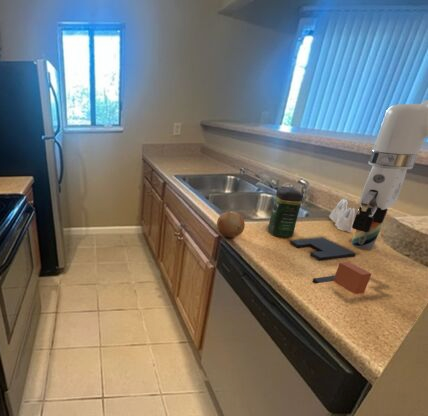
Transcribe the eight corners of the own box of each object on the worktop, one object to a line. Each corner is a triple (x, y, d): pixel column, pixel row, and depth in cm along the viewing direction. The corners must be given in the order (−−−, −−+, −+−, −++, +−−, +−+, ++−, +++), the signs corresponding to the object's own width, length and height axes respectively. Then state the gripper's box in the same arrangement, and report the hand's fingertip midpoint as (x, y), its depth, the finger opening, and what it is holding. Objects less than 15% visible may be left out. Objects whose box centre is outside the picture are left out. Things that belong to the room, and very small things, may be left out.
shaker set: (326, 220, 120) (334, 196, 116) (338, 221, 119) (346, 196, 115) (339, 231, 109) (348, 205, 105) (352, 232, 108) (361, 206, 104)
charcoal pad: (321, 240, 103) (322, 237, 102) (354, 256, 92) (355, 253, 91) (289, 243, 100) (290, 240, 100) (319, 260, 89) (320, 257, 89)
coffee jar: (295, 240, 103) (307, 193, 96) (271, 237, 105) (282, 191, 98) (287, 229, 111) (298, 185, 105) (265, 227, 114) (275, 184, 107)
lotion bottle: (349, 246, 98) (368, 193, 91) (352, 241, 101) (370, 189, 94) (371, 252, 94) (392, 197, 87) (373, 246, 97) (394, 193, 90)
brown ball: (230, 244, 100) (234, 219, 97) (209, 233, 109) (212, 210, 105) (248, 238, 104) (253, 214, 101) (227, 228, 113) (231, 206, 109)
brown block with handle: (357, 275, 82) (366, 254, 79) (397, 297, 73) (407, 274, 70) (312, 281, 79) (318, 260, 77) (346, 305, 70) (355, 281, 67)
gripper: (402, 167, 57) (374, 239, 63) (424, 158, 66) (397, 223, 72) (357, 161, 63) (335, 228, 69) (382, 153, 72) (361, 214, 78)
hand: (367, 225), depth 71 cm, fingers open, 9 cm apart
